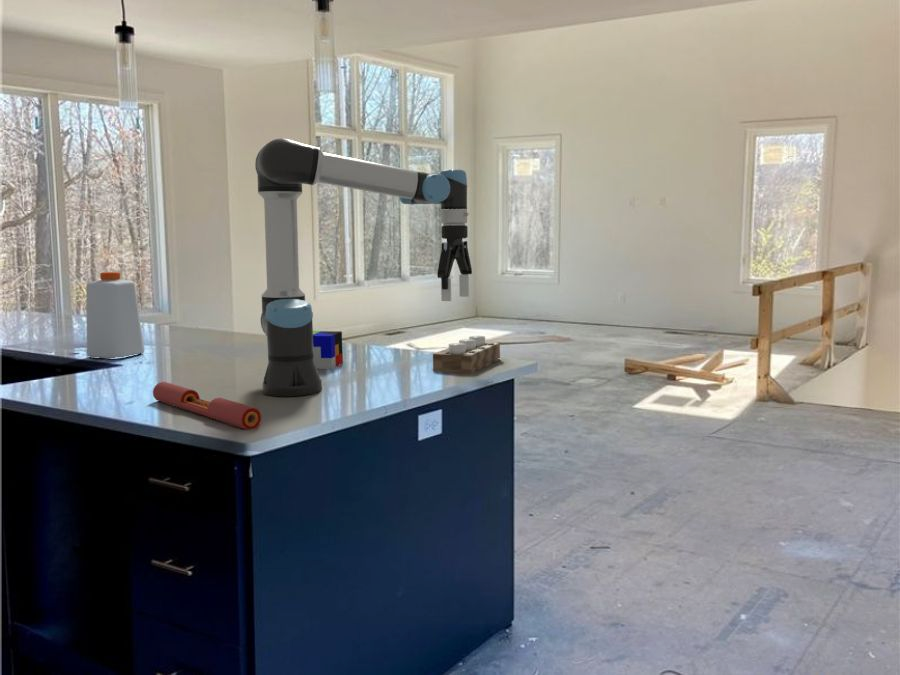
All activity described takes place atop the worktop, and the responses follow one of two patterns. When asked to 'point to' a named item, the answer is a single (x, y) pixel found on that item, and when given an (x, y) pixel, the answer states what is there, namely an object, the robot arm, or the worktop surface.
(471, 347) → the middle button
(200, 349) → the worktop surface
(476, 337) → the right button
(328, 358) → the puzzle toy
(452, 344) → the left button
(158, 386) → the blood vessel
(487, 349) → the button panel
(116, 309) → the plastic bottle
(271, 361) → the robot arm
